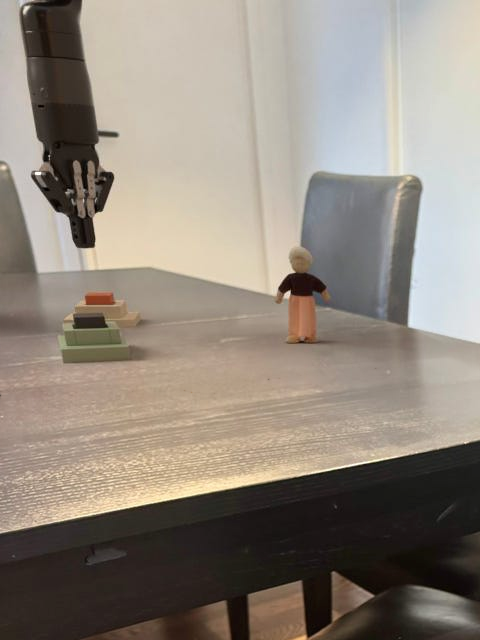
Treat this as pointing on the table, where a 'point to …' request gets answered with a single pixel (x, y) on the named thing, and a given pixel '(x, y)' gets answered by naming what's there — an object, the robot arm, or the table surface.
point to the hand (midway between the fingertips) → (85, 247)
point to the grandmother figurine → (301, 296)
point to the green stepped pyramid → (93, 344)
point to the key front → (89, 320)
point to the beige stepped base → (108, 313)
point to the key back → (99, 299)
